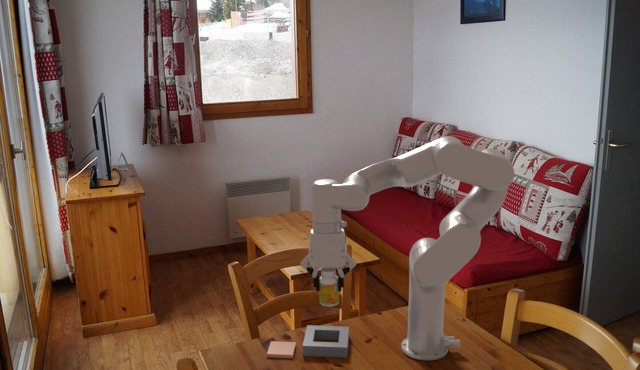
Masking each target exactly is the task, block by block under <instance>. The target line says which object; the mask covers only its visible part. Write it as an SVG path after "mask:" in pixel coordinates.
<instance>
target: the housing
mask: <svg viewBox="0 0 640 370" xmlns="http://www.w3.org/2000/svg"><path fill="white" fill-rule="evenodd" d="M349 339H350V326H340V325H339V326H338V325H336V326H335V325H331V326H330V325H315V324H314V325H313V324H312V325H311V324H310V325H308V324H307V325H306V328H305V334H304V339H303V342H302V357H323V358H345V359H347V358H348V352H349ZM316 340H323V341H316ZM325 340H327V341H325ZM328 341H329V342H328ZM331 341H338V342H331Z"/></svg>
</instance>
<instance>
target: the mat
mask: <svg viewBox="0 0 640 370" xmlns="http://www.w3.org/2000/svg"><path fill="white" fill-rule="evenodd" d="M296 346H297V342H296V341H273V340H271V341H270V343H269V346H268V349H267V352H266V358H274V359H275V358H277V359H294V355H295V352H296V351H295V350H296Z"/></svg>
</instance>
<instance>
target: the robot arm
mask: <svg viewBox="0 0 640 370" xmlns="http://www.w3.org/2000/svg"><path fill="white" fill-rule="evenodd" d="M441 175H444V176H445V177H447V178H451V179H453V180H456V181H459V182H461V183H465V184H469V185H472V189H471V190H470V191H469V192H468V193H467V194H466V196H464V198H463V199H462V200H461V201H460V202H459V203H458V204H457V205H456V206H455V207H454V208H453V209H452V210H451V211H450V212H449V213H447V214H446V216H444V217H443V219H442V220H441V221H440V223H439V227H438V228H439V230H438V231H439V237H438V238H437V239H435V238H432V237H423V238H420V239H418V240H417V241H415V243H414V244H412V247H411V248H410V251H409V256H408V257H409V259H408V260H409V266H408V268H409V269H408V270H409V275H408V276H409V277H408V279H409V284H408V286H409V288H408V308H407V309H408V311H407V312H408V313H407V337H406V338H404V339H403V340H402V342H401V351H402V352H403V353H404V354H405V355H406V356H408V357H409V358H411V359H415V360H419V361H435V360H441V359H442V358H444V357H446V356H447V354H448V352H449V347H453V348H460V347H461V341H460V339H455V336H452V335H451V336H450V335H448V336H447V335H446V334H445V333H444V315H445V314H444V313H445V299H446V283H448V282H449V281H450V280H451V279H452V278H453V277H454V276H455V275H456V274H457V273H458V272H459V271H460V270H461V269H462V268H464V267H465V265H466V264H468V263H469V262H470V261H471V260H472V258H473V257H475V255H476V254H477V253H478V252H479V248H480V247H481V242H482V236H481V230H482V229H483V228H484V227H485V226H486V225H487V224H488V223H489V222H490V221H491V219H492V218H494V216H496V214H497V213H498V212H499V210H500V209H501V207H502V206H503V205H504V202H505V200H506V197H507V195H508V189H509V187H510V185H511V184H512V182H513V181H514V179H515V167H514V166H513V163H512V162H511V161H510V160H509V159H508V157H507V156H506V155H505V154H504V153H503V152H502V151H500V150H498V149H496V148H491V147H490V148H489V147H488V148H485V149H482V150H478V149H475V148H471V147H469V146H466V145H464V143H463V142H461V140H460V139H458V138H457V137H455V136H453V135H447V136H442V137H439V138H437V139H435V140H433V141H430V142H428V143H425V144H423V145H421V146H420V147H417V148H414V149H412V150H410V151H408V152H405V153H403V154H401V155H399V156H396V157H392V158H389V159H386V160H383V161H380V162H376V163H374V164H371V165H369V166H366V167H364V168H362V169H359V170H358V171H356V172H353V173H351V174H350V175H349V176H347V177H346V178H344V181H343V182H342V183H340V182H339V181H338V180H336V179H331V178H321V179H316V180H315V181H313V182H312V184H311V210H312V211H311V212H312V213H311V215H312V228H311V229H310V232H309V238H308V239H309V241H308V254H307V255H306V256H304V258H303V259H302V260H301V262H300V265H299V266H300V267H302V268H303V269H304V270H305V271H306V272H307V273H308V274H309V275H310V276H311V277H312V278H313V288H315V291H316V292H319V278H320V274H319V269H322V268H335V269H336V271H337V272H338V275H337V277H338V291H339V293H341V292H342V288H345V277H346V275H347V274H348V273H349V272H351V270H352V269H354V268H355V267H356V266H357V262H356V260H354V258H353V257H351V255H350V254H349V253H348V247H347V245H348V244H347V237H346V232H345V229H344V228H347V225H348V223H347V221H344V220H343V219H342V210H343V211H351V212H357V211H362V210H364V209H365V208H366V207H367V205H368V204H369V202H370V196H371V195H373V194H376V193H378V192H381V191H383V190H385V189H389V188H393V187H403V188H412V187H414V186H416V185H419V184H421V183H424V182H425V181H429V180H431V179H433V178H435V177H437V176H441ZM347 263H348V265H347Z"/></svg>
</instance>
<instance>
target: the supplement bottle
mask: <svg viewBox="0 0 640 370" xmlns="http://www.w3.org/2000/svg"><path fill="white" fill-rule="evenodd" d="M318 292H319V293H318V295H319V298H318V300H319V304H320V305H321V306H324V307H334V306H338V305H339V303H340V292H339V291H338V275H337V268H320V276H319V291H318Z"/></svg>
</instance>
